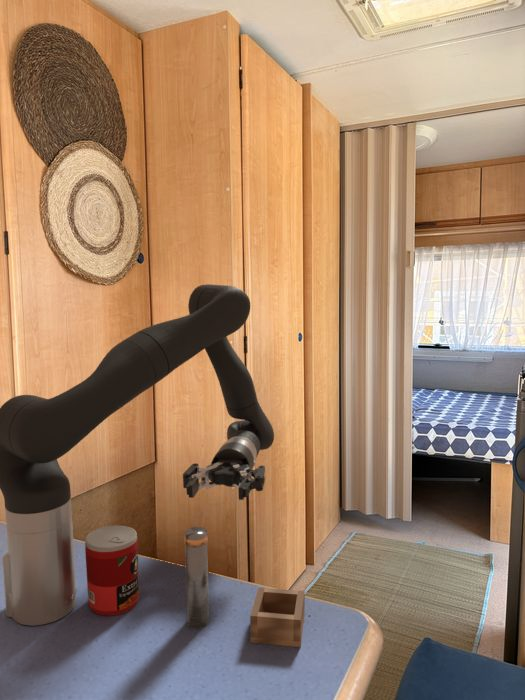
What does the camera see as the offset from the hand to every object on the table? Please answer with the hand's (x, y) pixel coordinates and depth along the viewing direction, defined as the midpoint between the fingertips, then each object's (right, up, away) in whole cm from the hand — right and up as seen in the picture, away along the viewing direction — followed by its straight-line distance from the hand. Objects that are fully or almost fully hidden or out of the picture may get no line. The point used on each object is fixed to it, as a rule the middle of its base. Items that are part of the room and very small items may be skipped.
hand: (215, 493), depth 88 cm
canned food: (-16, -16, -4) cm, 23 cm away
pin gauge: (-2, -17, -9) cm, 19 cm away
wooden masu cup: (+10, -17, -11) cm, 22 cm away
